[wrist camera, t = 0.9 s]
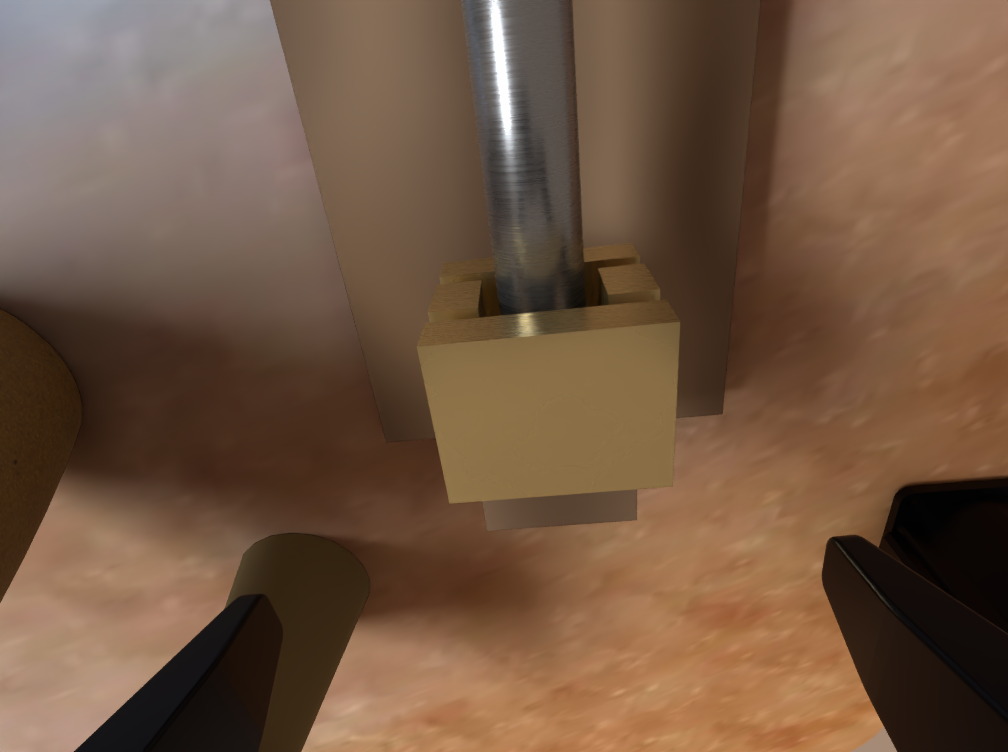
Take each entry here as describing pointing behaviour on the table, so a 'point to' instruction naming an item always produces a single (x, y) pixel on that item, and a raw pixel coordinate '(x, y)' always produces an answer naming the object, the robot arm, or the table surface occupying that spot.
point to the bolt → (529, 149)
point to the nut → (552, 384)
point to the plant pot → (30, 436)
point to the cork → (303, 623)
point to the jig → (460, 189)
